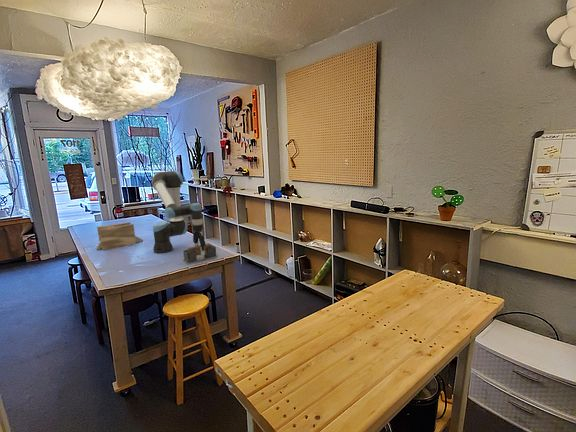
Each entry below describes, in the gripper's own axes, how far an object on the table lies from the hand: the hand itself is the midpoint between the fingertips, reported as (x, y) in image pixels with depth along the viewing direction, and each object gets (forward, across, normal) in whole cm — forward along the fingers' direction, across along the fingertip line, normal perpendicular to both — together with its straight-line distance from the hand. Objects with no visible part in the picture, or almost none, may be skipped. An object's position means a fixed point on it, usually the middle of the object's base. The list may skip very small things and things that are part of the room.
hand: (200, 253), depth 231 cm
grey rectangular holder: (+5, 0, 0) cm, 5 cm away
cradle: (+5, -87, -39) cm, 95 cm away
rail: (+1, 0, 0) cm, 1 cm away
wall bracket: (+5, -86, -37) cm, 94 cm away
